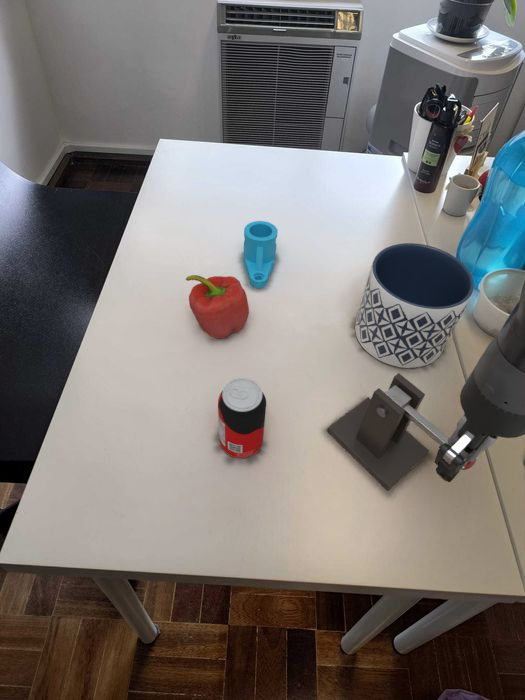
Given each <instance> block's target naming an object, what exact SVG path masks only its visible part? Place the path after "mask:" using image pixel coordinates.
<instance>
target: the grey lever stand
mask: <svg viewBox="0 0 525 700" xmlns="http://www.w3.org/2000/svg"><path fill="white" fill-rule="evenodd" d="M394 385H396V386H397V387H399V388H400V389H401V390H402V391H404V392H405V393H406V394H407V395H408V396H410V397H411V398H412V399H411V401H410V403H409V405H410V406H411V407H412V408H414V409H415V410H416V411H417V412H418V409H419V408H420V406H421V404H422V401H423V400H424V397H425V396H426V393H424V392H423V391H422V390H421V389H420V388H418V387H417V386H416V385H414V384H413V383H412V382H411V381H409V380H408V379H407V378H405V376H404V375H402V374H401V373H400V372H398V373H397V374H395V375H394V376H393V378H392V381H391V382H390V385H389V387H388V389H387V391H388V390H389V389H390V388H392V387H393V386H394ZM404 412H405V410H404V409H403V408H402V407H401V406H400V405H398V404H397V403H396V402H395V401H394V400H393V399H391V398H390V397H389V396H388V395H387V394H385V392H384V391H383V390H382V389H381V388H379V387H378V388H377V389H376V390H374V391H373V393H372V396H371V397H366V398H365V399H364V400H362V401H361V402H360V403H359V404H357V405H355V406H354V407H353V408H352V409H351V410H349V411H348V412H346V413H345V414H344V415H343V416H341V417H340V418H339V419H337V420H336V421H335V422H333V423H332V424H331V425H329V426H328V427H327V430H326V432H327V433H328V434H329V435H330V436H331V438H333V439H334V440H335V442H337V443H338V444H339V445H340V446H341V447H342V448H343V449H344V450H345V451H346V452H347V453H348V454H349V455H350V456H351V457H352V458H353V459H354V460H355V461H356V462H357V463H358V464H359V465H360V466H361V467H362V468H363V469H365V471H367V473H369V475H370V476H372V477H373V479H375V480H376V481H377V482H378V483H379V484H380V485H381V486H382V487H383V488H384V489H385V490H386V491H387V492H388V491H389V490H391V489H392V488H393V487H394V486H395V485H396V484H397V483H398V482H400V481H401V480H402V479H403V478H404V477H405V476H406V475H408V473H409V472H410V471H411V470H413V469H414V468H415V467H416V466H417V465H418V464H419V463H420V462H421V461H422V460H424V459H425V458H426V457H427V456H428V455H429V453H430V450H429V449H428V448H427V447H426V446H425V445H423V444H422V443H421V442H420V441H419V440H418V439H417V438H416V437H415V436H414V435H412V434H411V433H410V432H409V431H408V430H407V429H409V425H410V424H411V422H412V421H411V420H410V419H408V418H407V417H406V416H405V415H404Z"/></svg>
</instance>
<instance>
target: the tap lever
mask: <svg viewBox="0 0 525 700" xmlns="http://www.w3.org/2000/svg"><path fill="white" fill-rule="evenodd" d="M388 389H389V388H388ZM388 389H387V390H386V391H385V392H384V393H385V394H387V395H388V396H389V397H390V398H391V399H393V400H394V401H395V402H396V403H397V404H398V405H400V406H401V407H402V408H403V409H404V410H405V412H404V415H405V416H406V417H407V418H408V419H410V420H411V422H412V423H413V424H414V425H416V426H417V427H418V429H420V430H421V431H423V432H424V433H425V434H426V435H427V436H428V437H429V438H431V439H432V440H433V441H434V442H435V443H437V444H438V445H439V447H440V446H441V445H443V444H444V443H448V442H447V441H448V439H449V438H450V436H447V435H446V434H445V433H444V432H443V431H442V430H441V429H440V428H438V427H437V426H436V425H435V424H433V423H432V422H431V421H430V420H428V419H427V418H426V417H424V416H423V414H421V413H420V412H418V410H417V411H416V410H415V409H414V408H412V407H411V406H410V405H409V403H410V401H411V399H412V398H411V397H410V396H408V395H407V394H406V393H405V392H404V391H402V390H401V389H400V388H399V387H397V386H396V385H394V386H393V387H392V388H390V389H389V390H388ZM474 450H475V449H474ZM476 462H477V459H476V460H475V461H473V462H467V464H466V465H465V468H464V469H463V470H462V469H461V470H460V471H465V470H469V469H471V468H473V466H474V465H475V464H476Z"/></svg>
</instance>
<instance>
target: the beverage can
mask: <svg viewBox="0 0 525 700" xmlns="http://www.w3.org/2000/svg"><path fill="white" fill-rule="evenodd" d="M266 413H267V399H266V395H265V393H264V392H263V390H262V388H261V386H260V385H259V384H258V383H257V382H256V381H255V380H252V379H249V378H246V377H245V378H242V377H241V378H235V379H232V380H230V381H229V382H228V383H227V384H225V386H224V387H223V389H222V390H221V392H220V394H219V396H218V399H217V415H218V416H217V417H218V418H217V419H218V440H219V441H218V442H219V444H220V447H221V449H222V450H223V451H224V452H225V453H226V454H228V455H229V456H231V457H232V458H233V457H234V458H238V459H244V458H245V459H246V458H249V457H252V456H254V455H255V454H257V452H258V451H259V450H260V449H261V448H262V445H263V442H264V433H265V432H264V431H265V423H266V422H265V421H266Z"/></svg>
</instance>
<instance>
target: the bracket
mask: <svg viewBox="0 0 525 700" xmlns="http://www.w3.org/2000/svg"><path fill="white" fill-rule="evenodd" d="M243 238H244V241H243V259H242V260H243V264H244V267H245V271H246V274H247V277H248V281H249V285H250V286H251V287H252V288H254V289H263V288H265V287H266V286H267V285H268V281H269V279H270V276H271V274H272V272H273V269H274V266H275V263H276V254H277V253H276V252H277V238H278V228H277V227H276V225H275V224H273V223H271V222H269V221H265V220H264V221H263V220H254V221H252V222H249V223H247V224H246V225H245V226H244V228H243Z"/></svg>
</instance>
